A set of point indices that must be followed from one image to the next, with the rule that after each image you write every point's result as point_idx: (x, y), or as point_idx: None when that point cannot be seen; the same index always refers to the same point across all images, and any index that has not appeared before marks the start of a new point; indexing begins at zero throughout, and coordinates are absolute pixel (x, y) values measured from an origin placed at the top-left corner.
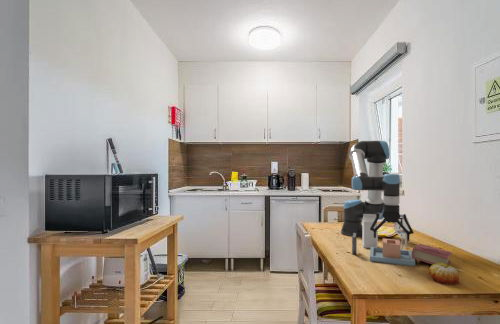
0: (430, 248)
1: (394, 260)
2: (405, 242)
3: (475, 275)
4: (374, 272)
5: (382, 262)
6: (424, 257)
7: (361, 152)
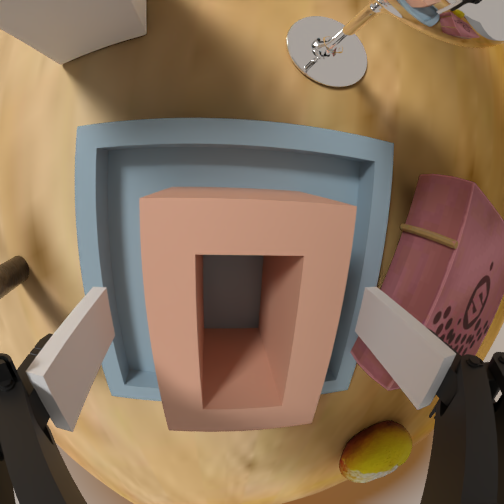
0: (482, 274)
1: None
2: (377, 356)
3: None
4: (170, 467)
5: None
6: None
7: None
